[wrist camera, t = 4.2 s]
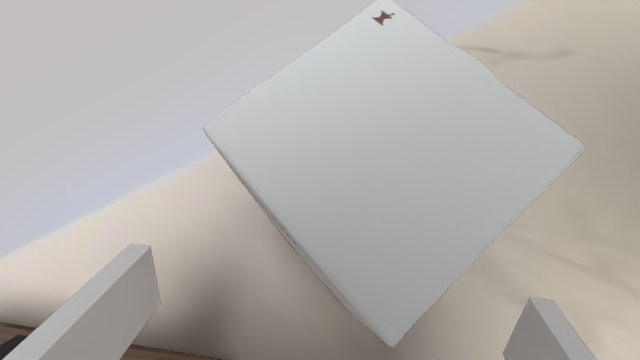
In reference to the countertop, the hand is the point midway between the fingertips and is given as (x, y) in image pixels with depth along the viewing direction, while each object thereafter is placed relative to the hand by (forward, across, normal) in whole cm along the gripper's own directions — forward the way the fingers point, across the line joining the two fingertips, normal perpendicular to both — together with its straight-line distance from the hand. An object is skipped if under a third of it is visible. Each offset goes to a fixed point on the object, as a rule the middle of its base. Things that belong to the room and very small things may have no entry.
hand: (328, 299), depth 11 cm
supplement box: (+12, +1, -5) cm, 13 cm away
